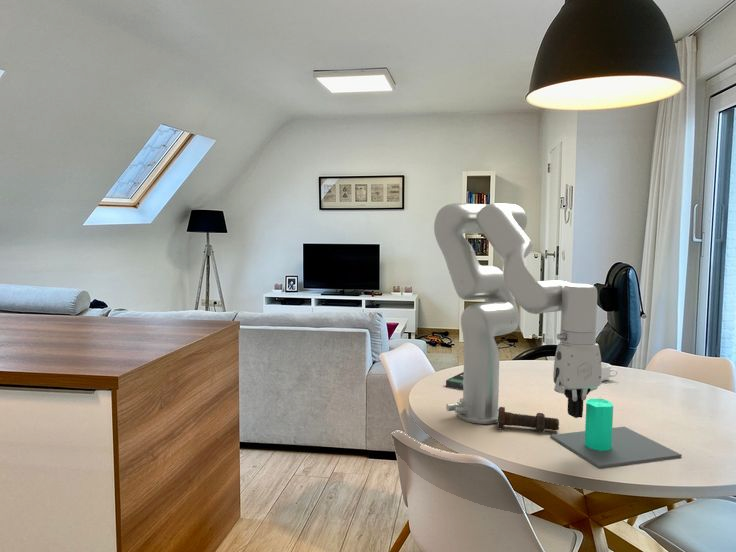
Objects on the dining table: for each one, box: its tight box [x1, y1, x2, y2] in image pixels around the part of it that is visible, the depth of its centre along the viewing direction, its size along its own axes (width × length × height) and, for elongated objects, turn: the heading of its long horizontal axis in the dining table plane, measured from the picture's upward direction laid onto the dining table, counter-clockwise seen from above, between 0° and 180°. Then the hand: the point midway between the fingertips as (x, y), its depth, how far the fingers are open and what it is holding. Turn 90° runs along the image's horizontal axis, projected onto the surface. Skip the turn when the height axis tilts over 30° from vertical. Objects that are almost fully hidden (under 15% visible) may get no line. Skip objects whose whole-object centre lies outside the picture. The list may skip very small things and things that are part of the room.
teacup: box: [601, 361, 618, 382], centre depth 184 cm, size 10×8×5 cm
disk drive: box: [445, 371, 464, 390], centre depth 179 cm, size 10×3×15 cm
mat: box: [549, 426, 683, 469], centre depth 128 cm, size 22×18×1 cm
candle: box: [584, 398, 614, 451], centre depth 126 cm, size 6×6×12 cm
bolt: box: [497, 406, 560, 433], centre depth 139 cm, size 6×5×15 cm
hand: (575, 415), depth 124 cm, fingers closed
